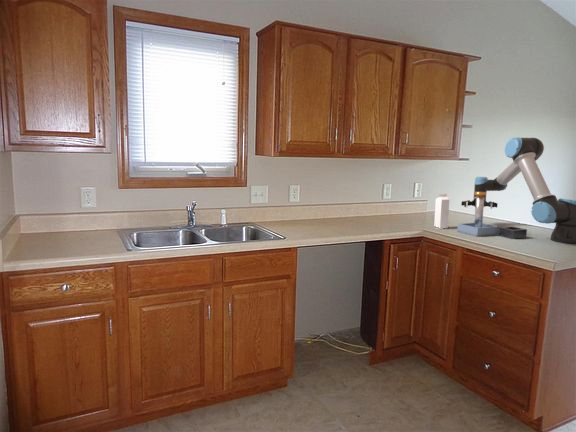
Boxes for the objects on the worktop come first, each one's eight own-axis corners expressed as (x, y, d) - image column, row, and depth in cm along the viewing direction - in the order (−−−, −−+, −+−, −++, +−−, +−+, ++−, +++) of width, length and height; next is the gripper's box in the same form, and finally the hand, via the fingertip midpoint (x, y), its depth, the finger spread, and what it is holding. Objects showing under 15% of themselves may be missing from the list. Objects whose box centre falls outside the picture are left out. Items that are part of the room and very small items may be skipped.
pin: (485, 232, 252) (489, 192, 249) (477, 232, 250) (480, 192, 247) (477, 230, 258) (480, 191, 255) (469, 231, 256) (472, 191, 253)
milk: (447, 228, 270) (450, 194, 267) (439, 229, 268) (442, 194, 265) (441, 226, 276) (443, 193, 272) (433, 227, 274) (435, 193, 270)
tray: (498, 234, 250) (499, 226, 249) (477, 236, 244) (477, 228, 244) (477, 230, 265) (478, 222, 264) (457, 231, 259) (458, 223, 258)
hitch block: (526, 237, 241) (526, 229, 240) (512, 239, 238) (513, 230, 237) (511, 234, 251) (512, 226, 250) (498, 235, 247) (499, 227, 246)
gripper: (500, 208, 267) (501, 213, 248) (458, 206, 278) (456, 210, 259) (501, 197, 266) (502, 200, 247) (459, 195, 276) (457, 198, 257)
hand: (478, 205), depth 253 cm, fingers open, 13 cm apart
